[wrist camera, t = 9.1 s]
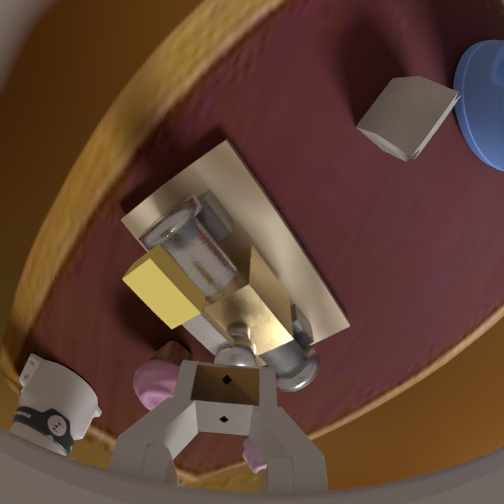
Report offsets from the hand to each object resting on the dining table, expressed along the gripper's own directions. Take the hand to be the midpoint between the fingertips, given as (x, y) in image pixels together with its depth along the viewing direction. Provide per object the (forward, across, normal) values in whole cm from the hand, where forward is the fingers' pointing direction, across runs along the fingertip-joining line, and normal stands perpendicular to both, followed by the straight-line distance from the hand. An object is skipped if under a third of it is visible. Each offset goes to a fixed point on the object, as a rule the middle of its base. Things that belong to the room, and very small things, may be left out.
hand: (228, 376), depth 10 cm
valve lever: (+11, +3, +7) cm, 13 cm away
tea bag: (+24, -13, -10) cm, 29 cm away
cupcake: (+24, +8, +24) cm, 35 cm away
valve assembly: (+24, 0, +10) cm, 26 cm away
